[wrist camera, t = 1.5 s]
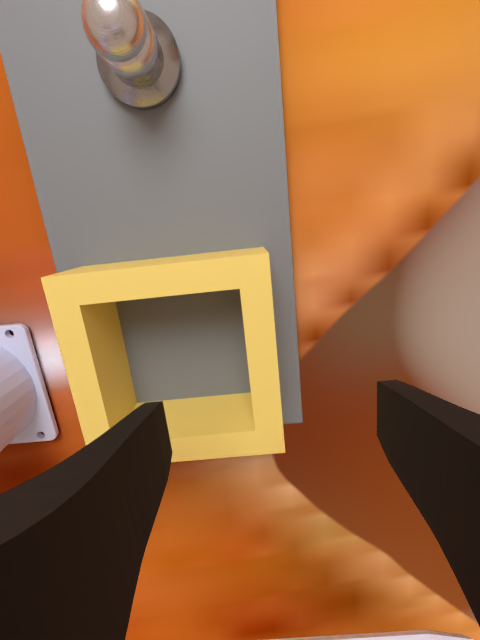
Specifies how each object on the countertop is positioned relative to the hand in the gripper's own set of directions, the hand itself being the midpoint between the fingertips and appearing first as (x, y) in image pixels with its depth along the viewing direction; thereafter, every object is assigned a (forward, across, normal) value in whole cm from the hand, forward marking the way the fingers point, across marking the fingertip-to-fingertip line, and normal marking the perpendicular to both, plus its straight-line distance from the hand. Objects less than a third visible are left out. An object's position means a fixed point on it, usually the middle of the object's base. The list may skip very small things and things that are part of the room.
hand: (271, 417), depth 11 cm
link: (+9, +4, 0) cm, 10 cm away
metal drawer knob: (+9, +4, -14) cm, 17 cm away
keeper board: (+10, +4, -7) cm, 13 cm away
